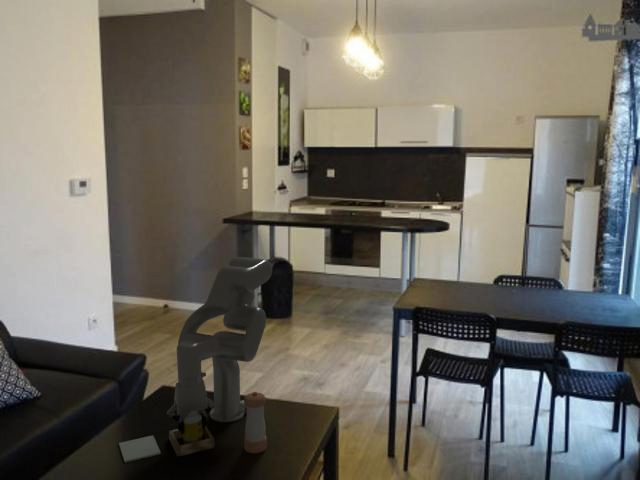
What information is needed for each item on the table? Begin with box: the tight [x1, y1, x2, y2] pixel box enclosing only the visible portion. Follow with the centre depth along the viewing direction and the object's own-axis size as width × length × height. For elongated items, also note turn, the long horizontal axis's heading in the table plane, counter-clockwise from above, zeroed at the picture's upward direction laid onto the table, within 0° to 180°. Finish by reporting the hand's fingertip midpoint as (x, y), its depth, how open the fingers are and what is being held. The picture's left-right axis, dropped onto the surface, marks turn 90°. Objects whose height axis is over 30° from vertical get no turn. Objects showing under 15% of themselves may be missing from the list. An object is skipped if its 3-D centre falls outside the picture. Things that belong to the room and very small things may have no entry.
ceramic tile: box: [118, 435, 161, 463], centre depth 178 cm, size 11×12×1 cm
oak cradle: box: [168, 424, 216, 457], centre depth 182 cm, size 12×12×3 cm
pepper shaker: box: [243, 391, 268, 454], centre depth 178 cm, size 7×7×19 cm
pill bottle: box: [182, 411, 204, 445], centre depth 182 cm, size 6×6×12 cm
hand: (192, 428), depth 182 cm, fingers closed on pill bottle, 6 cm apart
